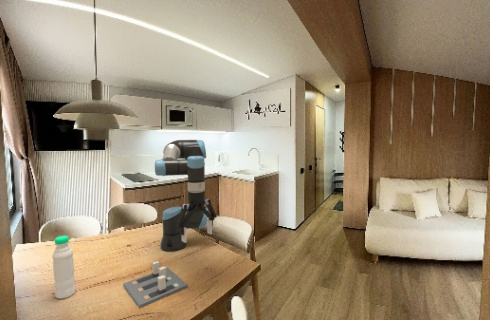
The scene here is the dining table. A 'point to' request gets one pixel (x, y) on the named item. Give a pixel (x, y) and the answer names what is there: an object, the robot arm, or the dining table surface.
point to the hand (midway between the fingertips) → (197, 237)
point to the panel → (153, 288)
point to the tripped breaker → (161, 284)
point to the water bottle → (63, 268)
